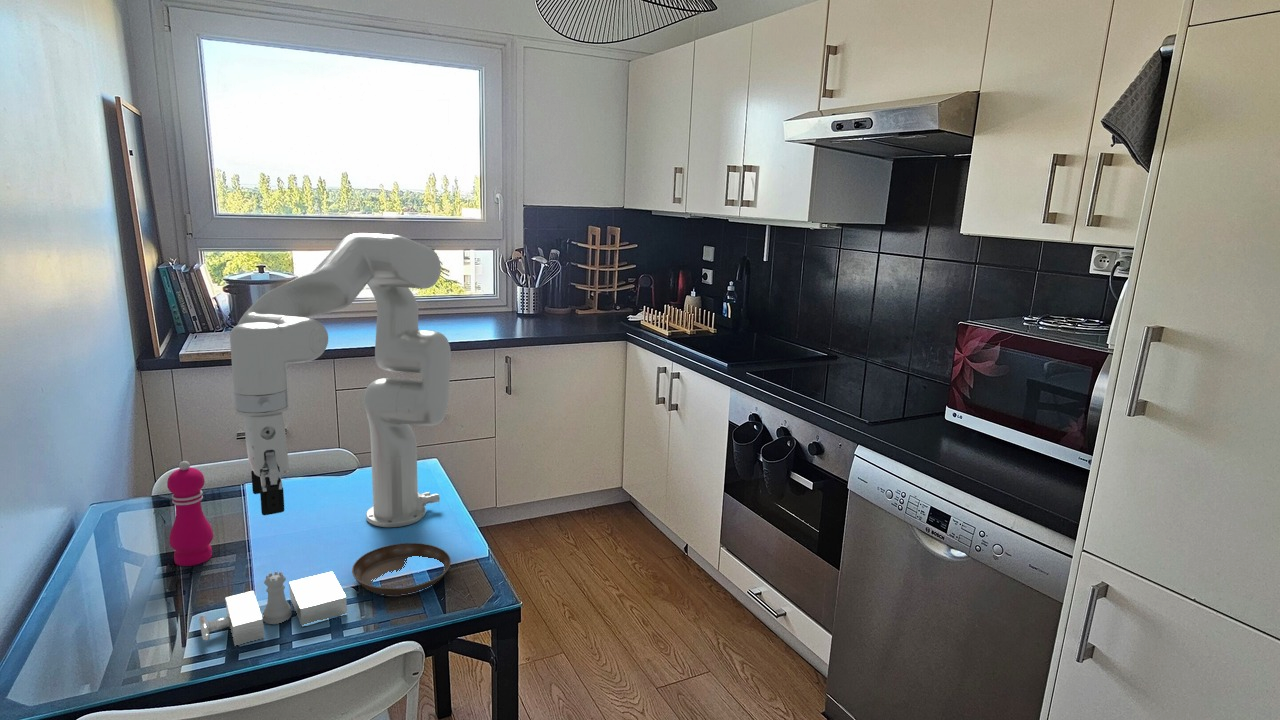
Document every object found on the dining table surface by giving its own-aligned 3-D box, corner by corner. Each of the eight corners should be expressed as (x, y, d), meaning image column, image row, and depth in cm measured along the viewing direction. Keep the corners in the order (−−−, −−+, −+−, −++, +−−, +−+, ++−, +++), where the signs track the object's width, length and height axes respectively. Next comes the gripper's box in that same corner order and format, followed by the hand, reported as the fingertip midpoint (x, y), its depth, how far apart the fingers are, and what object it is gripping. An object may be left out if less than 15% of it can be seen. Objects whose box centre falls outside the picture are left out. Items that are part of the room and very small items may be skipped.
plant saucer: (447, 551, 149) (447, 537, 148) (454, 596, 133) (454, 580, 132) (355, 561, 144) (354, 547, 143) (350, 609, 127) (349, 593, 127)
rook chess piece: (269, 611, 125) (266, 568, 123) (296, 610, 126) (293, 568, 124) (258, 626, 121) (254, 582, 119) (286, 625, 121) (283, 582, 120)
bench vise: (333, 588, 133) (332, 571, 132) (347, 615, 125) (346, 596, 124) (198, 623, 121) (196, 604, 120) (204, 654, 113) (202, 634, 112)
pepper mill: (195, 570, 137) (185, 470, 133) (162, 564, 139) (151, 465, 134) (223, 552, 144) (215, 456, 140) (192, 547, 146) (182, 452, 141)
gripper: (297, 411, 111) (303, 517, 114) (278, 386, 124) (284, 481, 128) (242, 418, 106) (249, 527, 110) (228, 391, 120) (235, 488, 124)
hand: (268, 502), depth 119 cm, fingers open, 9 cm apart
